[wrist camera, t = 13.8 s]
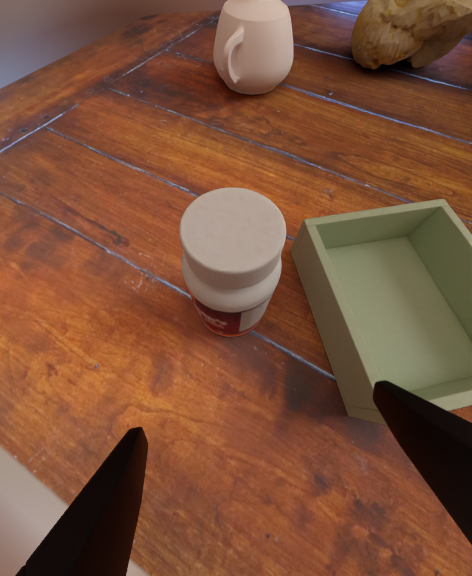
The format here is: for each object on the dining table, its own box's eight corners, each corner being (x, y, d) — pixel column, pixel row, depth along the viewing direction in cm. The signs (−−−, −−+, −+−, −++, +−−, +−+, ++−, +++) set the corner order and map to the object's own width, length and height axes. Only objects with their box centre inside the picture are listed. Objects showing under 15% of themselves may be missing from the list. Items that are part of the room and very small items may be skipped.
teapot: (244, 46, 42) (247, -50, 33) (306, 61, 40) (328, -37, 31) (190, 98, 35) (175, -7, 25) (263, 120, 33) (276, 15, 23)
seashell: (363, 55, 47) (327, 55, 39) (405, -34, 38) (368, -55, 31) (439, 88, 42) (413, 94, 35) (507, -5, 33) (492, -23, 26)
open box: (499, 379, 18) (582, 377, 14) (348, 416, 17) (388, 426, 13) (406, 231, 25) (444, 198, 20) (289, 250, 23) (303, 218, 19)
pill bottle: (185, 306, 21) (138, 225, 10) (230, 265, 23) (230, 162, 12) (232, 353, 19) (233, 313, 9) (277, 304, 21) (323, 224, 11)
